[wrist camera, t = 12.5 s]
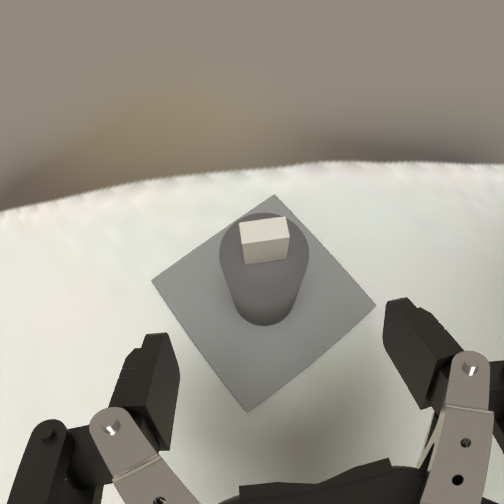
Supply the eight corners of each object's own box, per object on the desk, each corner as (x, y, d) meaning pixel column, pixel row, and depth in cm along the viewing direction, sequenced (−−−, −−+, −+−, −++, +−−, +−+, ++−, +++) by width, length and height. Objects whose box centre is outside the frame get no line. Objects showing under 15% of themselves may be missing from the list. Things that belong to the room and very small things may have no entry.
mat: (274, 198, 27) (274, 194, 26) (374, 307, 23) (376, 305, 23) (153, 282, 25) (151, 280, 24) (247, 412, 21) (246, 412, 20)
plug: (289, 262, 24) (304, 180, 15) (299, 320, 22) (326, 271, 13) (229, 271, 24) (207, 193, 14) (237, 330, 22) (217, 287, 13)
